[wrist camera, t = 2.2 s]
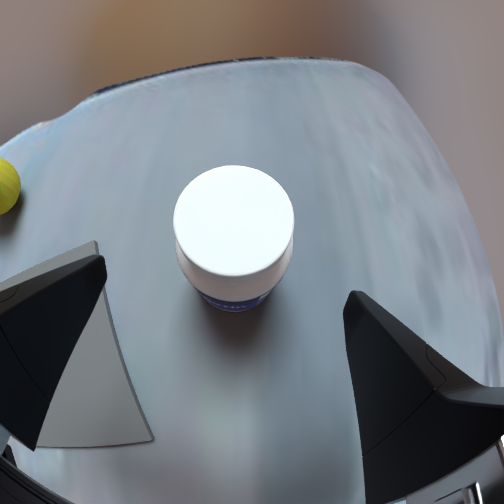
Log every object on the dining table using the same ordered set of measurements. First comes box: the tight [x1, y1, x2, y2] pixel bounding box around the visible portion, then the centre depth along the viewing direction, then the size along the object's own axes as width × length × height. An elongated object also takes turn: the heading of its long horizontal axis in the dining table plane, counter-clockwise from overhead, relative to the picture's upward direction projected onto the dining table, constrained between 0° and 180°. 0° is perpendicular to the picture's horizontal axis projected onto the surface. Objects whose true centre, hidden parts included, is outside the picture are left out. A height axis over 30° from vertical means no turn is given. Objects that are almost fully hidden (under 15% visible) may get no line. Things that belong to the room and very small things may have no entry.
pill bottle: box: [173, 166, 294, 312], centre depth 15 cm, size 6×6×10 cm
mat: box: [0, 241, 154, 447], centre depth 16 cm, size 16×14×1 cm
